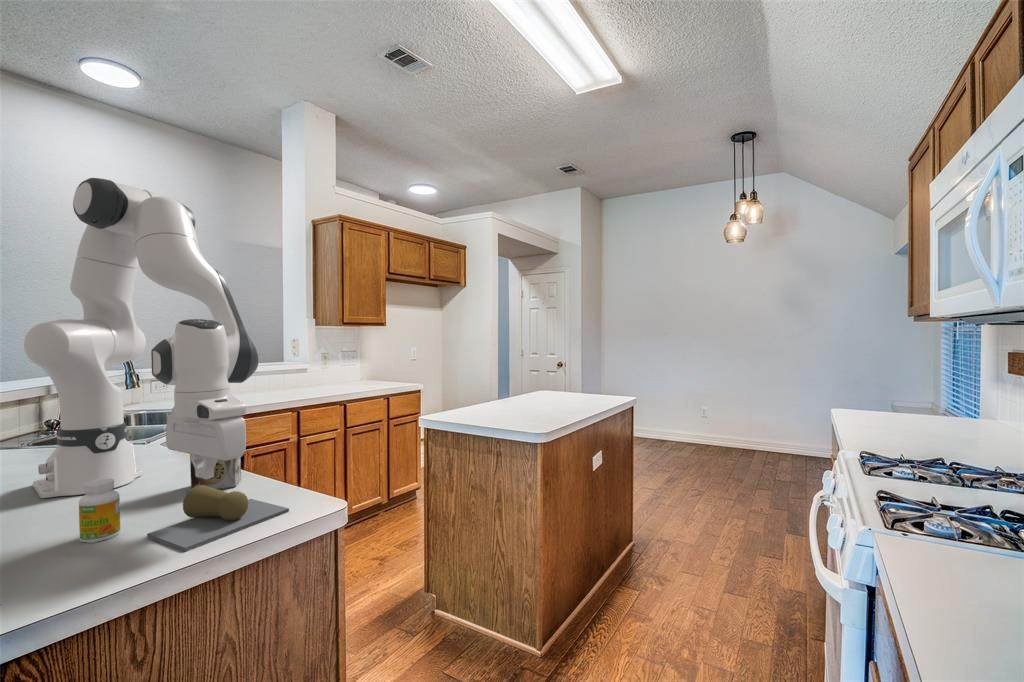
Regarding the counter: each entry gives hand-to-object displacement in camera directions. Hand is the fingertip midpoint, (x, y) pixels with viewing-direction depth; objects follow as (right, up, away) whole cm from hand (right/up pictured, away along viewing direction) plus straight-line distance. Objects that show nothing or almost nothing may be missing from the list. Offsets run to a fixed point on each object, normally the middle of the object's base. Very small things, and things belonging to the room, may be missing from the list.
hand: (204, 477), depth 89 cm
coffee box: (-11, -8, +21) cm, 24 cm away
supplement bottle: (-14, -9, -7) cm, 18 cm away
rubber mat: (+4, -8, -2) cm, 9 cm away
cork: (-3, -5, +2) cm, 6 cm away
